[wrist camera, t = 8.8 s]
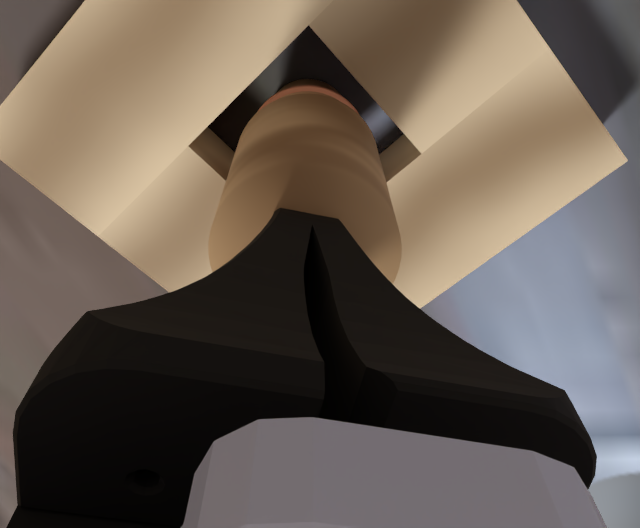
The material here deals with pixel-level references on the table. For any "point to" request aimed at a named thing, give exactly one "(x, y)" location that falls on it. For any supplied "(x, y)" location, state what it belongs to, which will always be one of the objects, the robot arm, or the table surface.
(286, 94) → the oak peg
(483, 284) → the table surface
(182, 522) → the robot arm
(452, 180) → the birch board
